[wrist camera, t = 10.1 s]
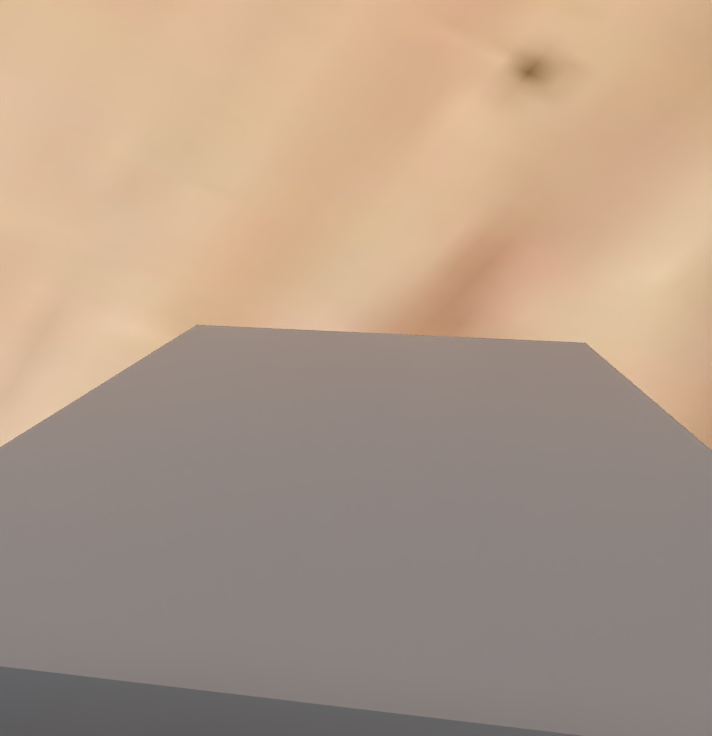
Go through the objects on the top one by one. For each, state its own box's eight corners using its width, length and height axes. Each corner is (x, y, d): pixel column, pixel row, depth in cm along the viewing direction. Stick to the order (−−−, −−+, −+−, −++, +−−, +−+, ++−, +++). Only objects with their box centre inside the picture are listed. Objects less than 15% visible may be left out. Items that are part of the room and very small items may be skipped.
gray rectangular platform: (585, 342, 9) (1125, 801, 2) (527, 640, 12) (691, 1259, 5) (196, 324, 10) (-296, 630, 3) (225, 609, 12) (4, 1113, 6)
